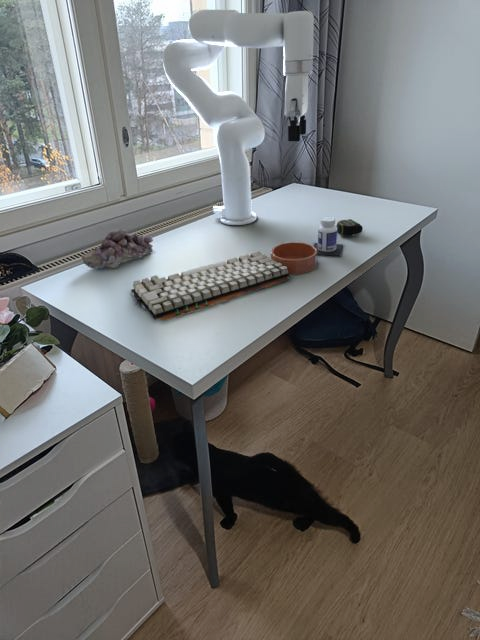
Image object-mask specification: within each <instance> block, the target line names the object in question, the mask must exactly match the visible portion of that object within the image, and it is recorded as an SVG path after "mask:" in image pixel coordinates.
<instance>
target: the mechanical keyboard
mask: <svg viewBox="0 0 480 640" xmlns="http://www.w3.org/2000/svg"><path fill="white" fill-rule="evenodd" d="M287 273H288V270H287V267H286V266H282V264H281V263H277V262H276V261H274V260H273V261H272V259H271V257H268V256H267V255H266V254H264V253H262V252H261V251H260V250H258V251H255V252H251V253H250V254H248V253H247V254H244V255H240V256H239V257H233V258H229V259H227V261H226V260H220V261H217V262H213V263H209V264H206V265H202V266H198V267H195V268H191V269H188V270H183V271H182V272H181V273H178V272H177V273H174V274H170V275H168V276H167V278H166V277H164V276H162V277H160V278H159V276H158V275H157V274H156V275H152V276H150V278H148V277H144V278H142V279H141V280H139V279H138V280H133V283H132V289H130V291H131V293H132V294H133V298H134V299H135V300H136V304H138V305H139V307H141V308H143V309H144V310H146V311H147V313H148V314H149V315H150V316H151V317H152V319H154V320H160V321H162V322H166V321H168V320H172V319H175V318H178V317H180V316H185V315H187V314H190V313H192V312H197V311H200V310H202V309H206V308H208V307H212V306H215V305H217V303H220V302H221V303H225V302H227V301H230V300H233V299H236V298H237V297H239V296H243V295H246V294H249V293H252V292H253V293H254V292H256V291H260V290H264V289H266V288H268V287H272V286H276V285H277V284H282V283H285V282H287V281H289V280H290V277H291V276H292V275H291V274H287Z"/></svg>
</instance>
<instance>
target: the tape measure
mask: <svg viewBox="0 0 480 640" xmlns="http://www.w3.org/2000/svg"><path fill="white" fill-rule="evenodd" d="M335 226H336V227H337V234H338V235H342V236H344V237H352V236H356V235H359V234H361V233H362V232H363V226H362V225H361V224H360V223H358V222H357V221H356V220H353V219H351V218H349V219H341V220H339V221H337V223H336V224H335Z"/></svg>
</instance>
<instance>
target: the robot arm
mask: <svg viewBox="0 0 480 640" xmlns="http://www.w3.org/2000/svg"><path fill="white" fill-rule="evenodd" d="M314 19H315V17H314V14H313V12H311V11H310V10H297V11H289V12H287V13H286V12H239V11H238V10H236V9H209V8H208V9H206V8H205V9H203V8H202V9H199V10H197V11H195V12H193V13H192V14H191V15H190V17H189V19H188V22H187V29H188V33H189V35H190V37H191V39H180V40H179V39H178V40H174V41H172V42H170V43H168V44H167V45H166V46H165V48H164V50H163V52H162V66H163V70H164V74H165V76H166V78H167V80H168V82H169V83H170V84H171V86H172V87H173V88H174V89H175V91H177V92H178V94H179V95H180V96H181V97H183V99H184V100H185V101H186V102H187V103H188V105H189V106H190V107H191V109H192V110H193V111H194V112H195V113H196V115H197V116H198V117H199V118H200V120H202V122H203V123H204V124H205V125H206V126H207V127H209V128H217V129H216V131H215V134H214V137H215V138H214V141H215V145H216V149H217V152H218V156H219V165H220V175H221V187H222V200H223V205H221V206H218V205H214V206H213V207H212V212H213V214H214V215H215V214H220V216H219V220H220V222H221V223H222V224H225V225H229V226H243V225H248V224H252V223H253V222H255V221H256V220H257V215H258V214H257V213H256V212H254V211H253V203H252V183H251V180H252V179H251V165H250V161H249V158H248V157H247V155H246V152H245V151H247V150H251V149H253V148H256V147H258V146H259V145H261V144H262V143H263V141H264V139H265V138H266V137H265V136H266V131H265V126H264V124H263V122H262V120H261V119H260V118H259V116H258V115H257V114H256V113H255V112H254V110H253V109H252V108H251V106H250V105H249V104H248V103H247V102H246V101H245V99H244V98H243V97H242V96H240V95H239V94H238V93H236V92H233V91H223V92H217V91H216V90H214V89H213V88H212V87H211V85H210V84H209V83H208V82H207V80H205V78H203V77H201V76H200V75H198V74H197V73H196V72H194V71H200V70H201V71H202V70H203V71H204V70H208V69H209V68H210V67H212V66H213V65H214V64H215V62H216V61H218V58H219V57H220V56H221V54H222V53H223V51H224V50H225V49H226V47H236V48H248V49H267V48H280V47H283V76H284V77H286V79H285V88H284V89H285V90H284V92H285V93H284V116H285V117H286V118H288V123H287V124H288V125H287V126H288V127H287V140H288V142H300V141H301V136H305V135H306V134H307V112H308V109H309V108H308V107H309V75H313V66H314V64H313V61H314V60H313V59H314V30H315V29H314V27H315V26H314V23H315V20H314Z"/></svg>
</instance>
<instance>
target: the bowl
mask: <svg viewBox="0 0 480 640" xmlns="http://www.w3.org/2000/svg"><path fill="white" fill-rule="evenodd" d="M270 259H272V261H273V260H274V261H276V262H277V263H281V264H282V266H286V267H287V270H288V273H287V274H289V275H301V274H302V275H303V274H306V273H309V272H311V271H313V270H315V269H316V267H317V263H318V255H317V249H316V248H315V247H314V244H309V243H306V242H301V241H300V242H299V241H288V242H282V243H279V244H277V245H275V246H273V247H272V249H271V250H270Z"/></svg>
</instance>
